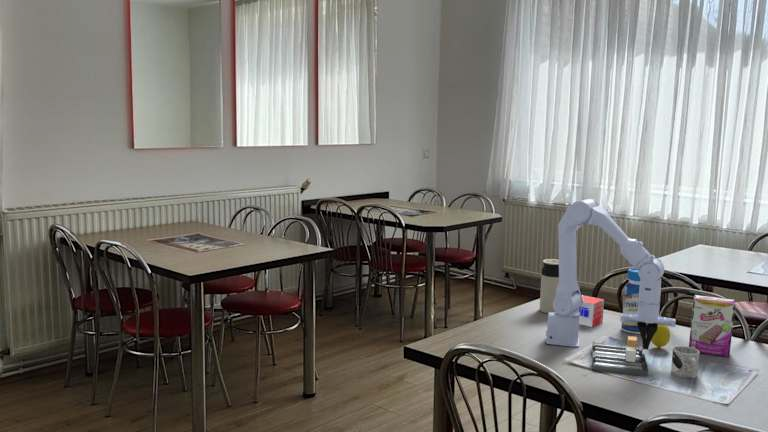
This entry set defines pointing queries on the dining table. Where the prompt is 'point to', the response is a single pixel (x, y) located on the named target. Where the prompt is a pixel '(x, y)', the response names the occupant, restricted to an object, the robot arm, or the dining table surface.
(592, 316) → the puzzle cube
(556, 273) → the travel mug
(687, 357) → the mug
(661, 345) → the lemon
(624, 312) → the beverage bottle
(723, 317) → the candy bar box
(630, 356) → the block
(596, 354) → the console
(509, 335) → the dining table surface
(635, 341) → the block
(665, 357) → the dining table surface
